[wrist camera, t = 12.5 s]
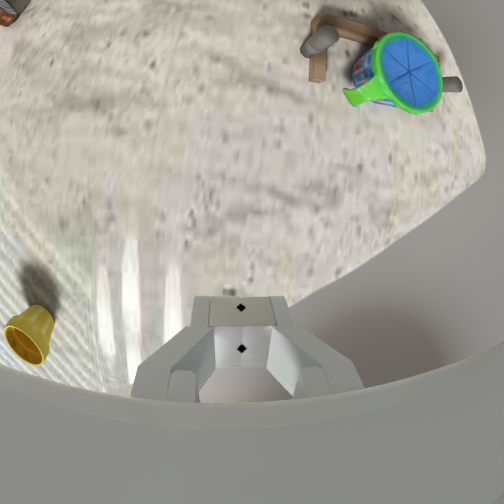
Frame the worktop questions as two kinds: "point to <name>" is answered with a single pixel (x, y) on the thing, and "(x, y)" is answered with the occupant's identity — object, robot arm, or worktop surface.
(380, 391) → the robot arm
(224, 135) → the worktop surface
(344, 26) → the cradle
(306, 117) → the worktop surface
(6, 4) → the tin
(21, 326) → the plant pot
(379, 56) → the snack cup
